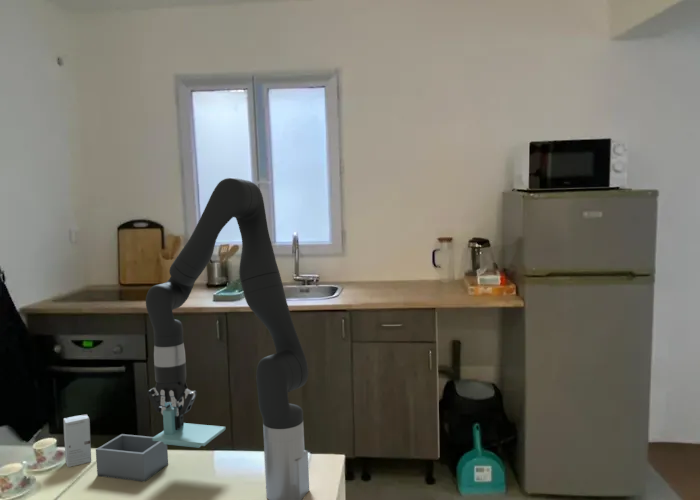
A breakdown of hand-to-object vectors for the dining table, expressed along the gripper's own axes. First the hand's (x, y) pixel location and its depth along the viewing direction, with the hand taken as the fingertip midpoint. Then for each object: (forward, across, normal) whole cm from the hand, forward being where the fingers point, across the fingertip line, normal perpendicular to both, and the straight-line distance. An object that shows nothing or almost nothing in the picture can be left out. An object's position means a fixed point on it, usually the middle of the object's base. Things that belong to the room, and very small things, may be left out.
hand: (173, 428), depth 147 cm
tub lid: (+2, -5, 0) cm, 5 cm away
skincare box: (+12, +30, 0) cm, 32 cm away
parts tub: (+12, +12, +1) cm, 17 cm away
